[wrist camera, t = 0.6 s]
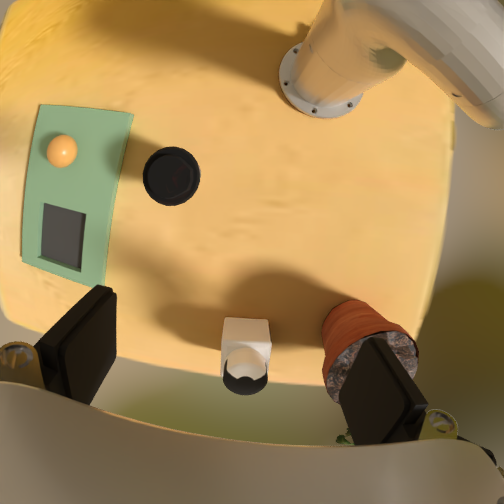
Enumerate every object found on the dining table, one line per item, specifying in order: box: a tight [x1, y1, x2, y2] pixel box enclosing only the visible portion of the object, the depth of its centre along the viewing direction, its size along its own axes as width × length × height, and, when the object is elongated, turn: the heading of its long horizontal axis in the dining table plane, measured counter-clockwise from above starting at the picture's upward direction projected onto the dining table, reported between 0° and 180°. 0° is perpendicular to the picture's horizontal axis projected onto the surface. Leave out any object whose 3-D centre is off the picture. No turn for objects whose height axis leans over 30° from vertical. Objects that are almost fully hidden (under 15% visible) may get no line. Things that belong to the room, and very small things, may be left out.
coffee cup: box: [143, 147, 201, 206], centre depth 36 cm, size 7×7×10 cm
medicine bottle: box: [221, 317, 272, 395], centre depth 43 cm, size 7×7×12 cm
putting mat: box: [22, 105, 134, 288], centre depth 40 cm, size 28×18×2 cm, turn 165°
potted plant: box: [321, 300, 419, 445], centre depth 32 cm, size 16×15×35 cm
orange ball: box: [47, 135, 78, 168], centre depth 35 cm, size 5×5×5 cm
